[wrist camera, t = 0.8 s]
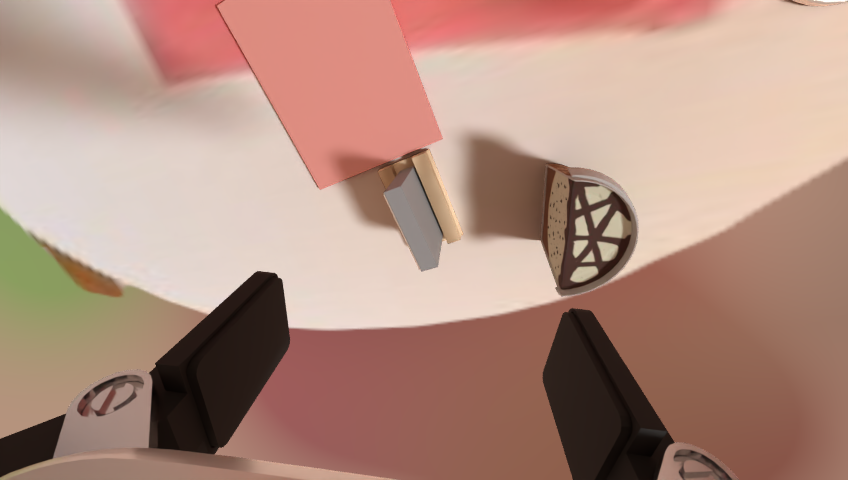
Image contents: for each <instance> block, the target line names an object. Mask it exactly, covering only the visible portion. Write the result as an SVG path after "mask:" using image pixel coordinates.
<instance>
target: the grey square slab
mask: <svg viewBox="0 0 848 480" xmlns="http://www.w3.org/2000/svg"><path fill="white" fill-rule="evenodd" d="M383 196H384V198H385V200H386V202H387V204H388V206H389V208H390V210H391V212H392V214H393V216H394V218H395V220H396V223H397V225H398V227H399V229H400V231H401V233H402V235H403V237H404V239H405V241H406V243H407V245H408V247H409V249H410V251H411V254H412V256H413V258H414V260H415V262H416V264H417V266H418V268H419V269H420V270H421V272H422V271H425V270H429V269H432V268H436V267H438V262H439V256H440V250H441V244H442V238H443V231H442V229H441V227H440V224H439V222H438V220H437V217H436V215H435V213H434V210H433V208H432V206H431V203H430V201H429V198H428V196H427V194H426V191H425V189H424V187H423V184H422V182H421V180H420V177H419V175H418V173H417V170H416V168H415V166H412V167H409V168H407V169H404V170H402V171H400V172H399V173H398V175H397V176H396V177H395V178H394V180H393V181H392V182H391V184H390V185H389V186H388V188H387V189H386V190H385V192H384V194H383Z"/></svg>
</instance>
